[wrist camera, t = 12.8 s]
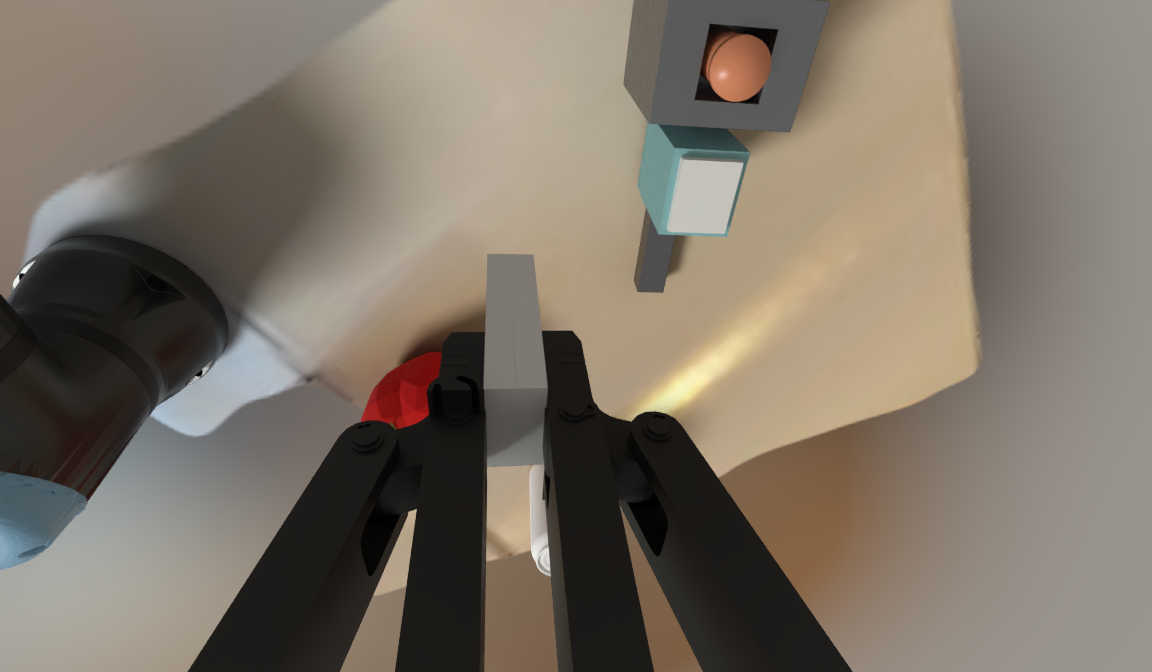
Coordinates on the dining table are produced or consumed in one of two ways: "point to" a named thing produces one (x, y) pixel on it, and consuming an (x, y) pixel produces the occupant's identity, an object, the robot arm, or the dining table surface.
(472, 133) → the dining table surface
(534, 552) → the beverage can
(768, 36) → the grey box
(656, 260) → the rail
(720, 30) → the plunger
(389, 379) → the tomato
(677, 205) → the block
